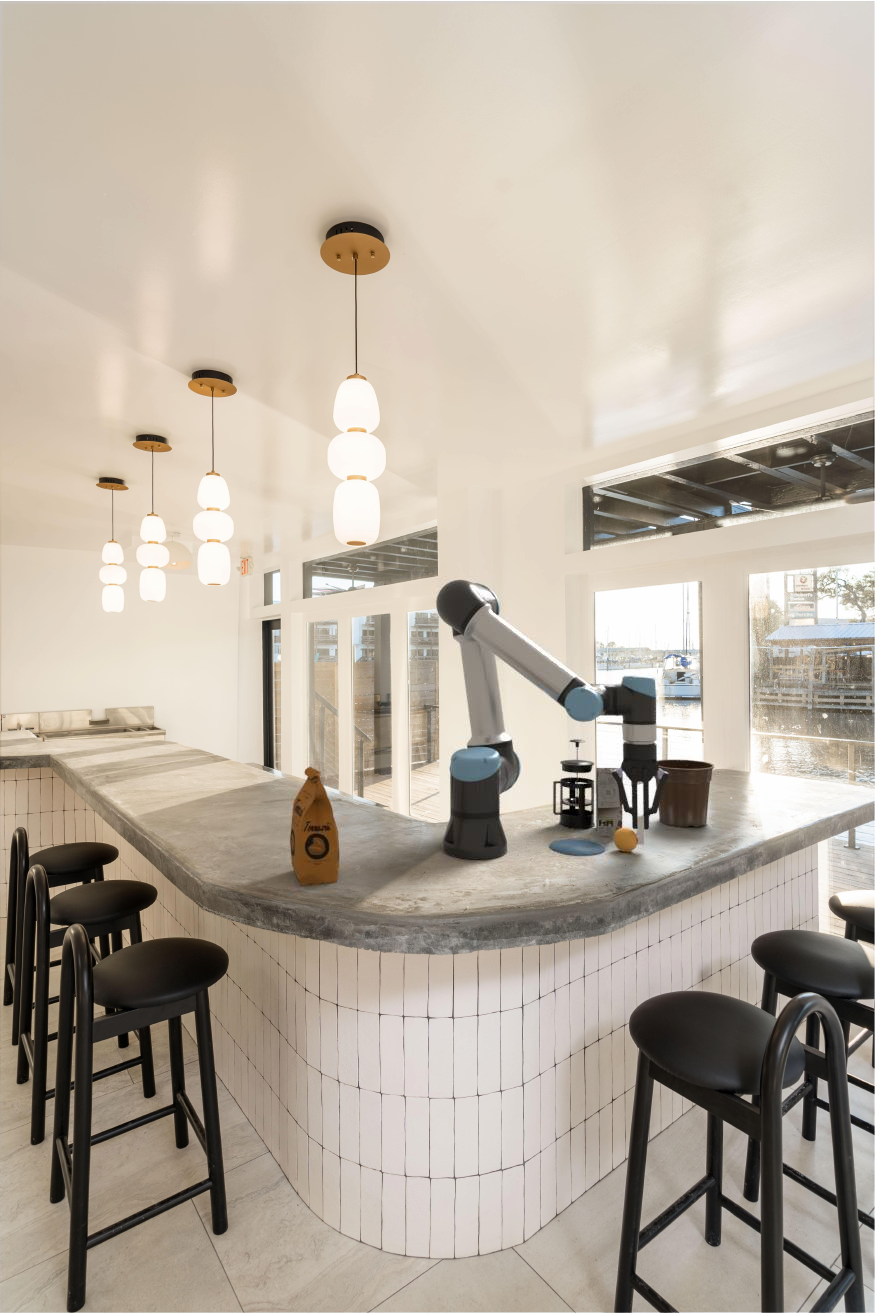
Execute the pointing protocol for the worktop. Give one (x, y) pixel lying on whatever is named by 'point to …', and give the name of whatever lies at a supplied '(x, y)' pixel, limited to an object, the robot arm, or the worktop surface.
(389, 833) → the worktop surface
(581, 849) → the disc
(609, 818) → the coffee box
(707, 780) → the plant pot
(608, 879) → the worktop surface
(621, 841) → the ball
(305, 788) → the coffee package
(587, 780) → the french press
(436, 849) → the worktop surface
